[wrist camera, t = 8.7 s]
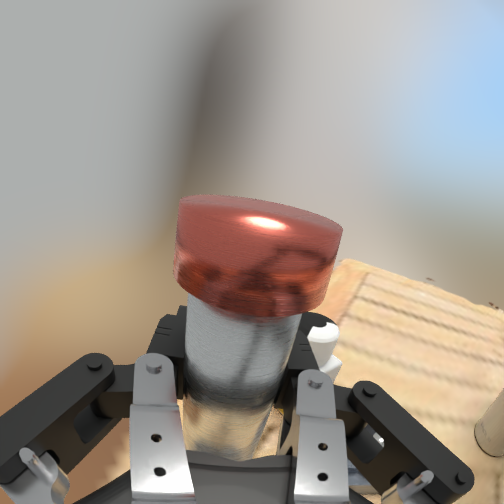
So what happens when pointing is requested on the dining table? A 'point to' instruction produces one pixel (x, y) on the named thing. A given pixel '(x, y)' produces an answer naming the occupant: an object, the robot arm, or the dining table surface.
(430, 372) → the dining table surface
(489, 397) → the dining table surface
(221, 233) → the pin
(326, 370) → the medicine bottle
